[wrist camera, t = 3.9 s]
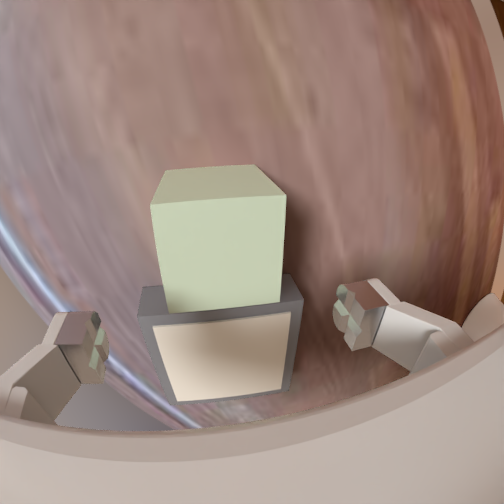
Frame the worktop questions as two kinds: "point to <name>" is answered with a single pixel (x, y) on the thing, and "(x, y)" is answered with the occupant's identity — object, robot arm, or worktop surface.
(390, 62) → the worktop surface
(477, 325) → the mug
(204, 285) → the green block
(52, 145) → the worktop surface
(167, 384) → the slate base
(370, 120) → the worktop surface
